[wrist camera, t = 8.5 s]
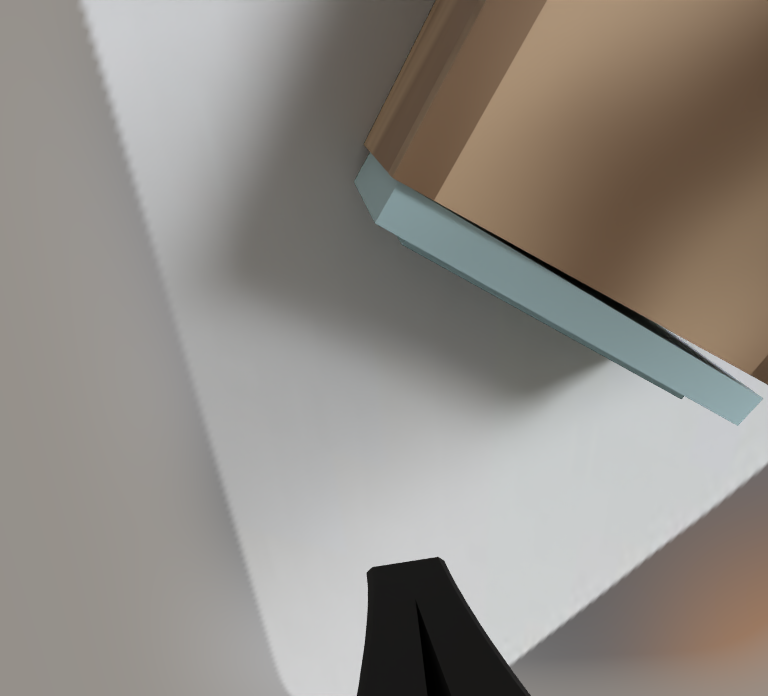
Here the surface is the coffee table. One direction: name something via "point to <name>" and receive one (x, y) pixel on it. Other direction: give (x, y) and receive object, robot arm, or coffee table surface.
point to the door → (550, 295)
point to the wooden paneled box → (604, 149)
